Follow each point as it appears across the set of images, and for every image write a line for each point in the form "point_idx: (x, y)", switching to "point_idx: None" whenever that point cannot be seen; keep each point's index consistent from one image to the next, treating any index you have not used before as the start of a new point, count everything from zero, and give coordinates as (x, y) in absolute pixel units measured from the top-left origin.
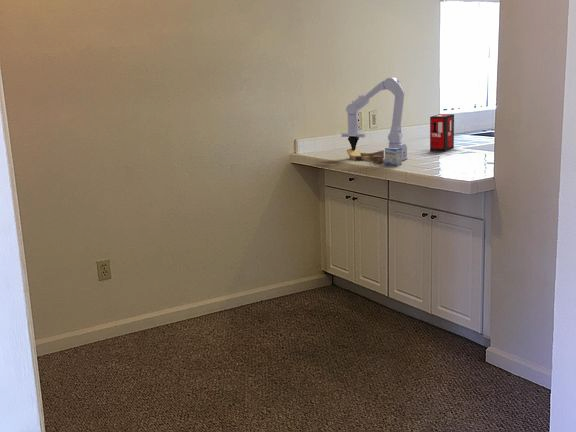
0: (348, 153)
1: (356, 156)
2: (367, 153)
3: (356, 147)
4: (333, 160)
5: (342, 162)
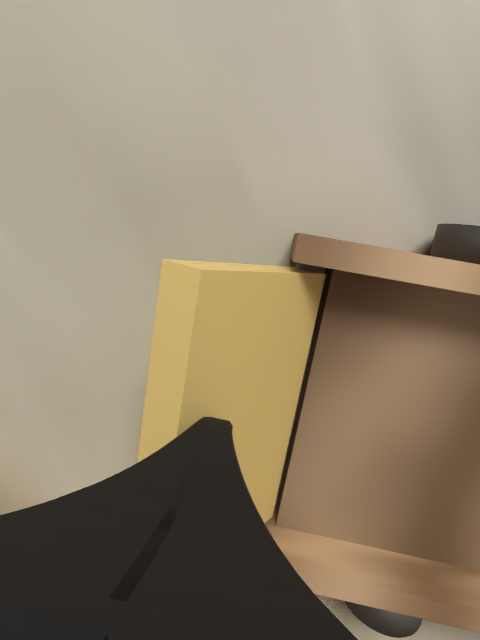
0: None
1: (358, 598)
2: (459, 291)
3: (197, 303)
4: (10, 488)
5: None
